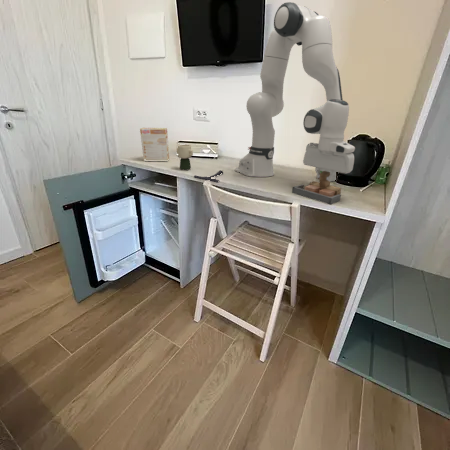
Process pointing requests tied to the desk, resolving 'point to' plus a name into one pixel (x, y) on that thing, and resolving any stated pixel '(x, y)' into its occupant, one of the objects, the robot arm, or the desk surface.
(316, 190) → the tile left
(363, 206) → the desk surface
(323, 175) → the wooden toy blocks
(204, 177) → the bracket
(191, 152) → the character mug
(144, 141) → the coffeecake box
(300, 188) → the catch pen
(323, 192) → the tile right
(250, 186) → the desk surface
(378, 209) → the desk surface
